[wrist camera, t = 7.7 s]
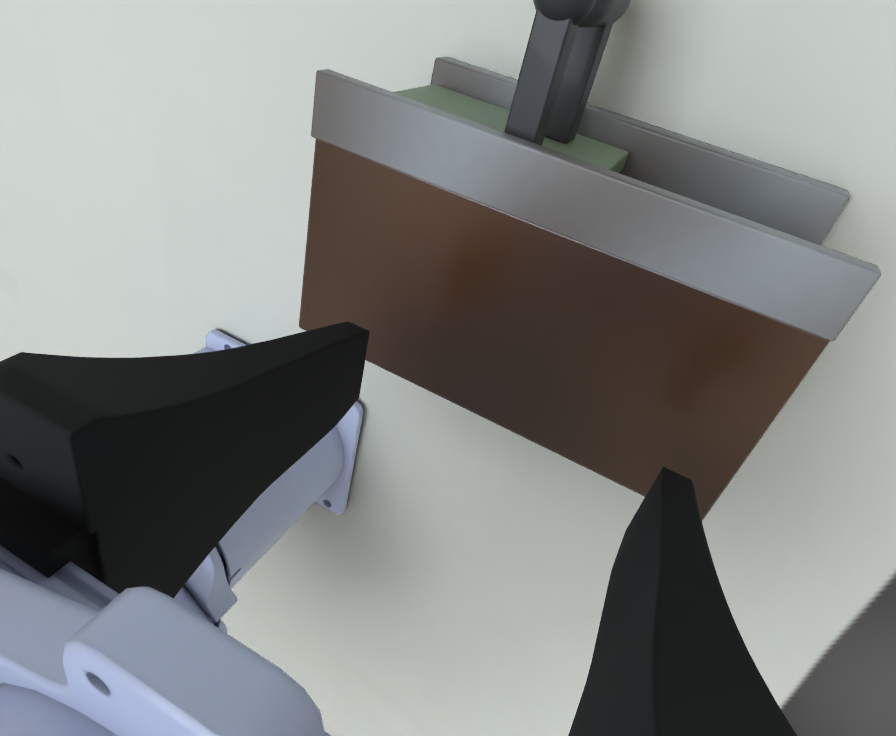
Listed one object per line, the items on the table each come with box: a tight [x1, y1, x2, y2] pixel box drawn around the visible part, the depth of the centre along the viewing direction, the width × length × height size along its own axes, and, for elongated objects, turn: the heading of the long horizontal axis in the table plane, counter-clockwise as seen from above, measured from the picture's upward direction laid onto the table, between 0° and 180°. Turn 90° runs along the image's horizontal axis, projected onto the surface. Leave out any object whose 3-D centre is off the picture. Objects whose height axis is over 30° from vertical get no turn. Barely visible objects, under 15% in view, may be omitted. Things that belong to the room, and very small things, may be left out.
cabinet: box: [299, 57, 881, 520], centre depth 18 cm, size 13×8×7 cm, turn 75°
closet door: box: [393, 0, 631, 173], centre depth 16 cm, size 7×5×6 cm
